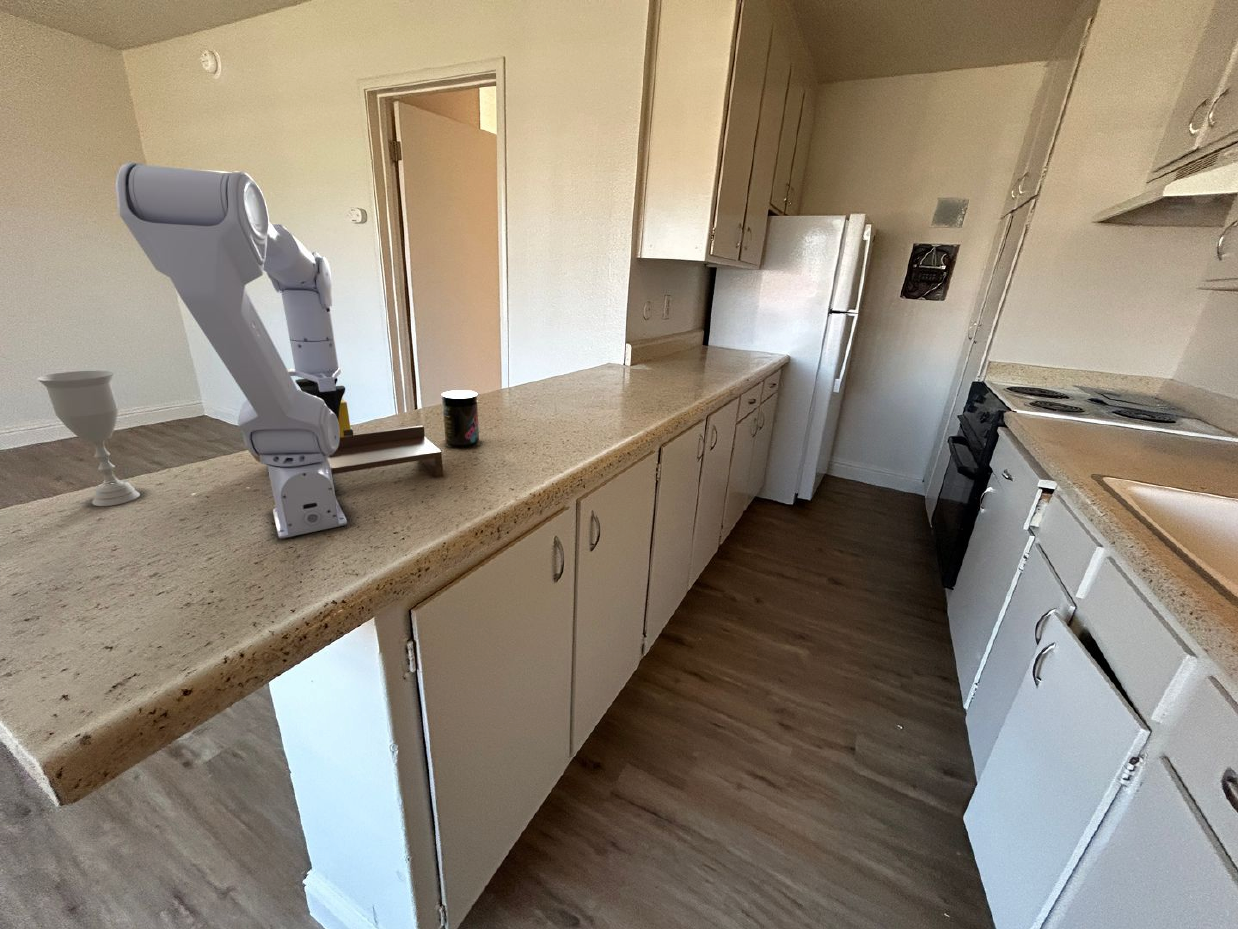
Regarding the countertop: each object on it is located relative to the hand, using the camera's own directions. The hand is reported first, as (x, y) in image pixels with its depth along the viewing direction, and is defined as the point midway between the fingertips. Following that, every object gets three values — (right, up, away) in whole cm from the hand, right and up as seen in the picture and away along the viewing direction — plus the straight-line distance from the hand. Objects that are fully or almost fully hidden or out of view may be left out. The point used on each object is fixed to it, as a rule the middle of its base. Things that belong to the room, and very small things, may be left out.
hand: (326, 426), depth 80 cm
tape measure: (0, -1, +1) cm, 1 cm away
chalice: (-27, -11, -6) cm, 30 cm away
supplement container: (+14, -2, +25) cm, 28 cm away
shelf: (+5, -8, +7) cm, 12 cm away
